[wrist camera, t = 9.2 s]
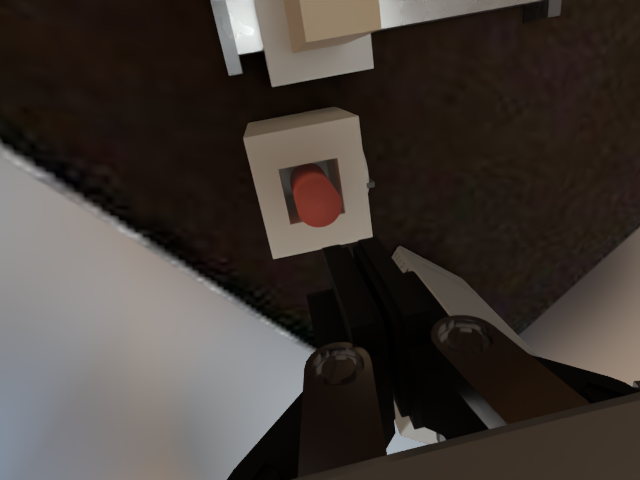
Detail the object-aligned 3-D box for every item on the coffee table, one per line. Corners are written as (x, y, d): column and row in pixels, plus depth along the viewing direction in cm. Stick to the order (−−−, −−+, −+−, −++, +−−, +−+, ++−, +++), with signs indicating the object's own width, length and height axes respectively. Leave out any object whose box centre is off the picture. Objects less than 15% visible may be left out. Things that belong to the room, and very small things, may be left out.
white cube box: (248, 123, 25) (243, 138, 19) (344, 104, 25) (371, 113, 19) (270, 218, 28) (273, 259, 22) (356, 200, 28) (384, 235, 22)
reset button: (286, 166, 22) (293, 189, 18) (322, 159, 22) (338, 180, 18) (293, 201, 23) (301, 231, 18) (328, 194, 23) (344, 222, 19)
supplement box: (397, 241, 30) (479, 341, 19) (463, 277, 33) (571, 385, 21) (349, 310, 32) (397, 437, 21) (414, 339, 35) (488, 467, 23)
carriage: (244, -45, 21) (229, -142, 12) (345, -61, 22) (409, -168, 12) (270, 86, 24) (276, 91, 15) (360, 69, 24) (420, 64, 15)
